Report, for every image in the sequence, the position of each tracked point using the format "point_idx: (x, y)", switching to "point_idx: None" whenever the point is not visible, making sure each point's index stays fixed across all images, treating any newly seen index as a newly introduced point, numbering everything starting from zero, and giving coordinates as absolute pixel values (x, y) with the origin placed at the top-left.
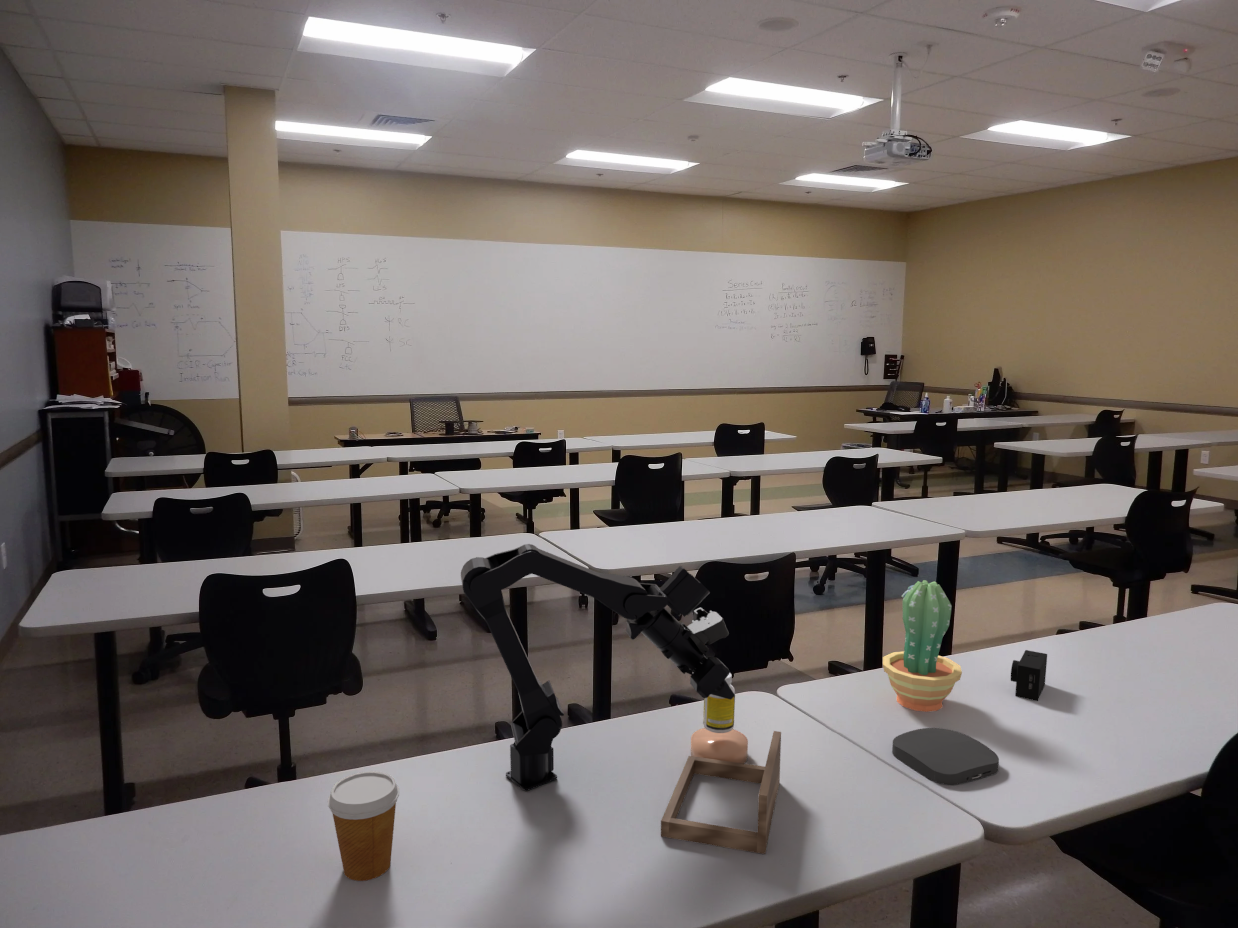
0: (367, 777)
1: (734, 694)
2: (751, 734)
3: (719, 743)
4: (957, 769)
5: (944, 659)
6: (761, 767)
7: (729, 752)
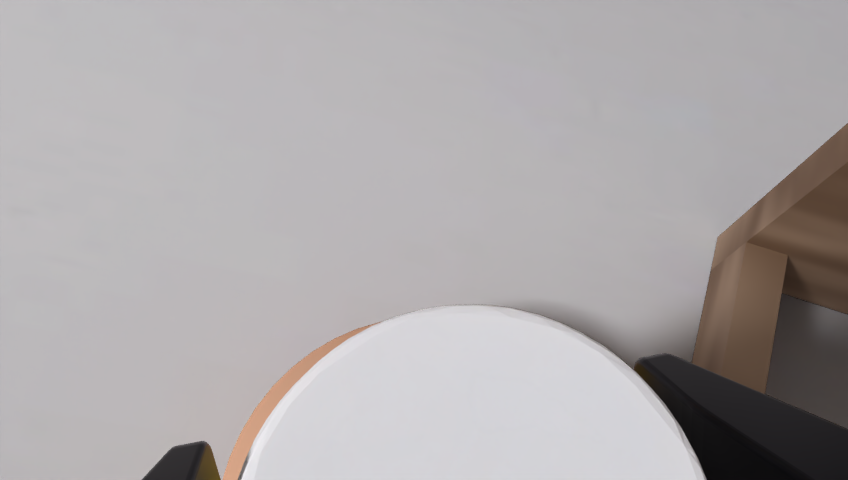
0: None
1: (671, 355)
2: (178, 266)
3: None
4: None
5: None
6: (752, 304)
7: None
